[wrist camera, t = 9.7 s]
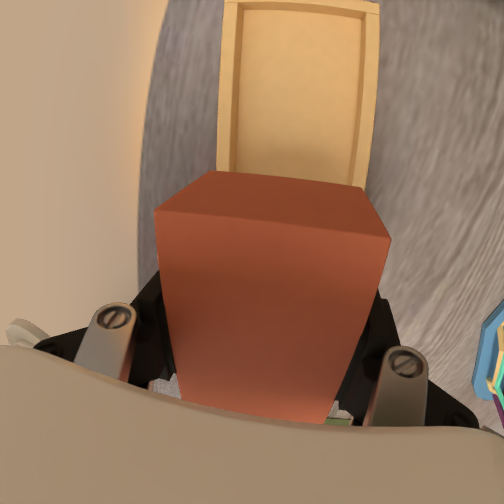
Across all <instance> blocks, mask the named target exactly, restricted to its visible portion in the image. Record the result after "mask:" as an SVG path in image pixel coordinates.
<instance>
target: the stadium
mask: <svg viewBox="0 0 504 504" xmlns="http://www.w3.org/2000/svg"><path fill="white" fill-rule="evenodd" d="M472 384H473V387H474V390H475V393H476V396H477V397H479V398H481V399H483V400H494V402H495V405H496V407H497V410H498V413H499V416H500V419H501V422H502V425H503V428H504V300H503V301H502V303H501V304H500V305H499V306H498V307H497V309H496V310H495V311H494V312H493V313H492V314H491V315H490V316H489V318H488V319H487V320H486V321H485V322H484V323H483V325H482V332H481V338H480V344H479V349H478V355H477V360H476V365H475V369H474V374H473V378H472Z"/></svg>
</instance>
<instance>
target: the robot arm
mask: <svg viewBox="0 0 504 504" xmlns="http://www.w3.org/2000/svg"><path fill="white" fill-rule="evenodd" d="M428 371H429V368H428V363H427V361H426V359H425V357H424V356H423V355H422V354H421V353H420V352H418V351H417V350H415V349H413V348H411V347H408V346H401V344H400V340H399V337H398V333H397V329H396V326H395V322H394V319H393V315H392V312H391V309H390V305H389V302H388V300H387V299H381V297H380V294H379V290H378V289H377V292H376V295H375V298H374V301H373V304H372V307H371V310H370V313H369V316H368V319H367V322H366V325H365V327H364V330H363V333H362V335H361V336H360V338H359V341H358V344H357V346H356V349H355V352H354V354H353V357H352V359H351V362H350V364H349V367H348V369H347V371H346V374H345V376H344V379H343V381H342V383H341V386H340V388H339V390H338V392H337V395H336V397H335V399H334V400H338V401H339V410H346V411H347V412H348V413H350V414H351V415H352V417H351V420H350V423H349V426H343V425H328V424H316V423H306V422H297V421H289V420H281V419H274V418H267V417H261V416H255V415H249V414H244V413H238V412H233V411H228V410H223V409H219V408H214V407H210V406H205V405H201V404H197V403H193V402H189V401H185V400H181V399H178V398H174V397H170V396H167V395H163V394H160V393H156V392H153V385H154V380H155V379H158V378H160V379H164V380H168V381H170V379H171V377H172V375H173V373H175V374H177V373H176V368H175V363H174V357H173V352H172V346H171V341H170V335H169V329H168V323H167V317H166V310H165V305H164V301H163V294H162V286H161V279H160V271H159V270H158V271H157V272H156V274H155V275H154V276H153V277H152V278H151V280H150V281H149V282H148V283H147V284H146V286H145V287H144V288H143V289H142V290H141V292H140V293H139V294H138V295H137V296H136V298H135V299H134V300H133V301H132V303H131V304H130V305H128V304H126V303H111V304H107V305H105V306H103V307H101V308H100V309H99V310H97V311H96V312H95V314H94V316H93V317H92V320H91V322H90V324H89V326H88V327H86V328H82V329H79V330H75V331H72V332H68V333H65V334H61V335H58V336H54V337H51V338H47V339H44V340H42V341H40V342H38V343H37V344H36V345H35V346H34V345H33V344H32V343H30V342H28V341H26V340H22V339H19V340H18V341H17V342H16V343H15V344H14V345H1V346H0V504H504V437H503V436H502V435H500V434H498V433H496V432H495V431H493V430H491V429H490V428H488V427H486V426H484V425H483V427H482V428H480V427H479V423H478V420H477V418H476V416H475V414H474V413H473V412H472V411H471V410H470V409H468V408H467V407H466V406H464V405H463V404H462V403H460V402H459V401H457V400H456V399H455V398H453V397H452V396H451V395H449V394H448V393H446V392H445V391H444V390H442V389H441V388H439V387H438V386H437V385H435V384H434V383H433V382H431V381H430V380H428Z"/></svg>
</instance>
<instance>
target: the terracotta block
mask: <svg viewBox="0 0 504 504" xmlns="http://www.w3.org/2000/svg"><path fill="white" fill-rule="evenodd" d="M154 221H155V233H156V243H157V253H158V262H159V271H160V279H161V286H162V294H163V301H164V305H165V310H166V317H167V323H168V329H169V335H170V341H171V346H172V352H173V357H174V363H175V368H176V373H177V374H176V375H177V380H178V385H179V389H180V394H181V398H182V400H185V401H189V402H193V403H197V404H201V405H205V406H210V407H214V408H219V409H223V410H228V411H233V412H238V413H244V414H249V415H255V416H261V417H267V418H274V419H281V420H289V421H297V422H306V423H316V424H324V422H325V420H326V418H327V416H328V414H329V411H330V409H331V407H332V405H333V403H334V401H335V400H334V399H335V397H336V395H337V392H338V390H339V388H340V386H341V383H342V381H343V379H344V376H345V374H346V371H347V369H348V367H349V364H350V362H351V359H352V357H353V354H354V352H355V349H356V346H357V344H358V341H359V338H360V336H361V335H362V333H363V330H364V327H365V325H366V322H367V319H368V316H369V313H370V310H371V307H372V304H373V301H374V298H375V295H376V292H377V289H378V286H379V282H380V279H381V276H382V272H383V269H384V265H385V262H386V258H387V255H388V251H389V247H390V243H391V237H390V235H389V234H388V232H387V230H386V228H385V226H384V225H383V223H382V221H381V219H380V218H379V216H378V214H377V212H376V211H375V209H374V207H373V206H372V204H371V202H370V201H369V199H368V197H367V196H366V194H365V192H364V191H363V189H362V188H361V187H356V186H350V185H343V184H336V183H329V182H322V181H314V180H306V179H298V178H290V177H281V176H271V175H261V174H250V173H238V172H225V171H209V172H207V173H206V174H204V175H203V176H201V177H200V178H198V179H197V180H195V181H194V182H192V183H191V184H189V185H188V186H187V187H185V188H184V189H182V190H181V191H179V192H178V193H177V194H175V195H174V196H172V197H171V198H170V199H168V200H167V201H165V202H164V203H163V204H161V205H160V206H159V207H157V208H156V209H155V210H154Z"/></svg>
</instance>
